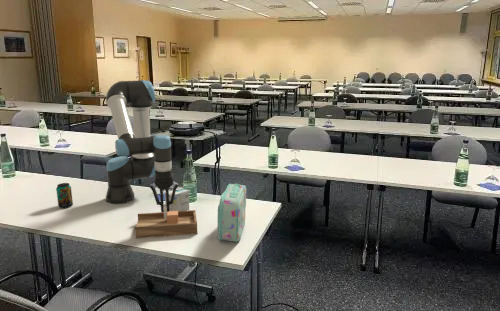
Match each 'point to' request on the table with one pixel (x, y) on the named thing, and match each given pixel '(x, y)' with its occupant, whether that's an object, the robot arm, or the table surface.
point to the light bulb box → (179, 200)
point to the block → (172, 217)
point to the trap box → (165, 225)
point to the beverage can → (64, 195)
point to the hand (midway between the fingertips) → (165, 218)
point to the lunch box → (232, 213)
